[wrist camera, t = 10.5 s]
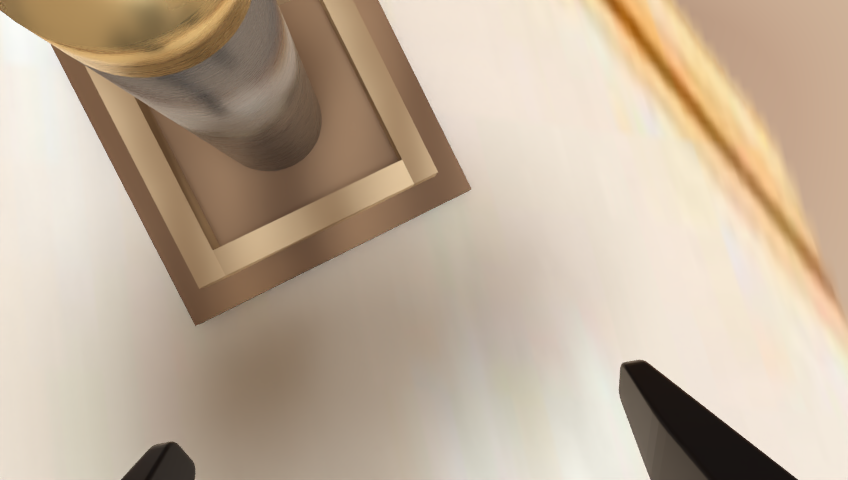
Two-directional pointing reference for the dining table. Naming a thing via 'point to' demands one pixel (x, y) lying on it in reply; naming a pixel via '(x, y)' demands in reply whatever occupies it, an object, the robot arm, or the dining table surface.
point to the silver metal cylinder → (195, 67)
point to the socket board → (289, 188)
